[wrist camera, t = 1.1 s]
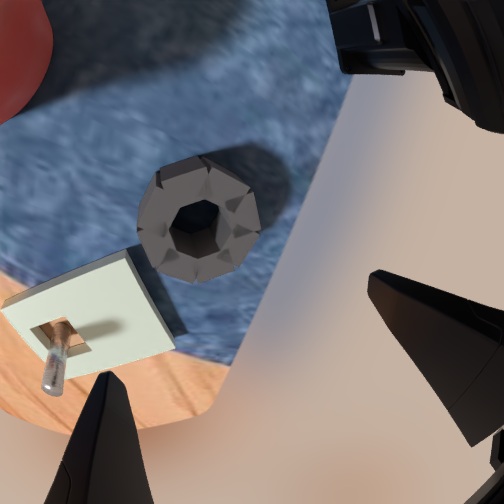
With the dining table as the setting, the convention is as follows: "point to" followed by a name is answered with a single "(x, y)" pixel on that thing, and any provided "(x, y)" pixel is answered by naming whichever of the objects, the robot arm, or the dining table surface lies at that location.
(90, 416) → the robot arm
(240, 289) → the dining table surface
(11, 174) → the dining table surface
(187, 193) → the grey octagonal ring
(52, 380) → the grey metallic cylinder
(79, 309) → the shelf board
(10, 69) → the flower pot
